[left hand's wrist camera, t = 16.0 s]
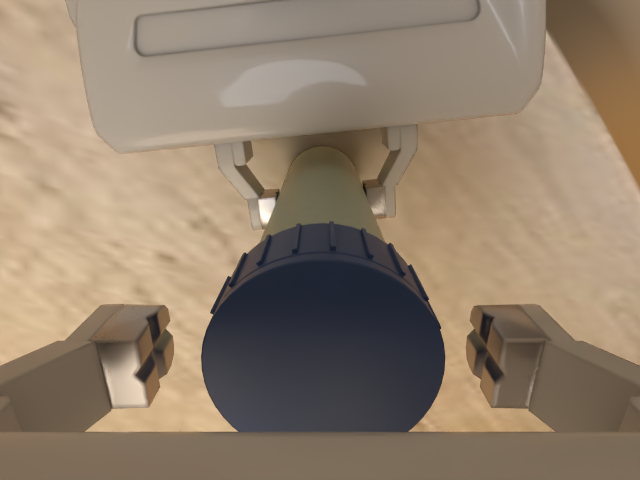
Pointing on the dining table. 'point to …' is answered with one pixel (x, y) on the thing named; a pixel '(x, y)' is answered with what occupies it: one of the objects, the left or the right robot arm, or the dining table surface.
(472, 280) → the dining table surface
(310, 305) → the lid
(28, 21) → the dining table surface
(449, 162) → the dining table surface
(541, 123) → the dining table surface
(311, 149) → the green bottle
